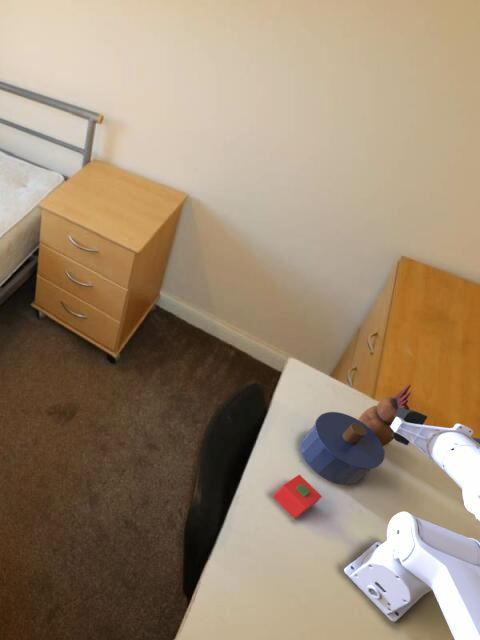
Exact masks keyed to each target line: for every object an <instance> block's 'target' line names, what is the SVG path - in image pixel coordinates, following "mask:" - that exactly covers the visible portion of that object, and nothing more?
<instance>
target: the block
mask: <svg viewBox="0 0 480 640" xmlns="http://www.w3.org/2000/svg"><path fill="white" fill-rule="evenodd" d="M272 497H273V498H274V499H275V500H276V501H277V502H278V503H279V504H280V506H282V508H283V509H285V511H286V512H287V513H288V514H289V515H290V516H291V517H292V518H293V519H298V517H300V516H301V515H303V514H304V513H305V512H307V511H308V510H310V509H311V508H312V507H313V506H314V505H315V504H316V503H317V502H318V501H320V499H322V497H323V496H322V495H321V494H320V493H319V492H318V491H317V490H316V489H315V488H314V487H313V485H311V484H310V483H309V482H308V481H307V480H306V479H305V478H304V477H303V476H302V475H301V474H299V473H298V474H297V475H296V476H294V477H293V478H291V479H290V480H289V481H287V482H286V483H284V484H283V485H282V486H280V488H279V489H278V490H277V491H276V492H275V493H274V494H273V495H272Z"/></svg>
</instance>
